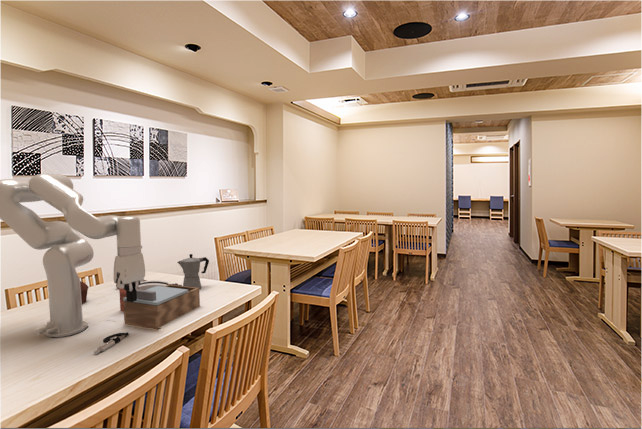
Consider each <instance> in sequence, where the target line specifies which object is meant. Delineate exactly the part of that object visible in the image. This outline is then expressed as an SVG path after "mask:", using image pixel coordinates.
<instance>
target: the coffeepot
mask: <svg viewBox="0 0 642 429" xmlns="http://www.w3.org/2000/svg"><path fill="white" fill-rule="evenodd" d="M202 262H204V267H203V270H202V271H201V274H206V272H207V269H208V266H209V264H210V259H208V258H207V257H206V256H204V257H193V254H192V253H190V254H189V257H187V258H183V259H182V260H179V261H177V264H178V265H179V266H180V268H181V269H182V272H183V274H184V277H183V283H182V286H187V287H196V288H199V291H200V290H201V289H202V283H201V278H200V275H199V272H200V270H201V269H200V267H201V263H202Z"/></svg>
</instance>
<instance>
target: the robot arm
mask: <svg viewBox="0 0 642 429" xmlns="http://www.w3.org/2000/svg"><path fill="white" fill-rule="evenodd" d="M41 201H44V202H45V203H46V204H48V205H50V206H51V207H53V208H55V209H56V210H57V211H58V212H59V211H60V212H61V213H62V214H63V217H64V219H65V221H66V222H65V221H61V220H53V221H46V220H44V219H42V218H41V216H39V215H38V214H37V213H36V212H35V211H34V210H32V209H31V208H29V207H27V206H25V205H23V204H22V203H34V202H35V203H36V202H41ZM83 202H84V196H83V195H82V194H81V193H79V192H78V191H76V190H74V183H73V181H72V179H70V178H69V177H68V176H66V175H64V174H59V173H39V174H36V175H33V176H32V177H31V178H20V179H19V178H6V179H5V178H4V179H0V220H1V221H3V222H4V223H5V224H6V225H7V226H8V227H9V228H10V229H12V231H13V232H14V233H15V234H17V235H18V236H19V237H20V238H21V239H22V241H24V242H25V243H26V244H27V245H28V246H29V247H30V248H32V249H34V250H40V251H42V250H46V251H45V253H44V254H43V256H42V265H43V268H44V271H45V275H46V280H47V291H48V304H49V305H48V306H49V321H48V322H47V323H46V325H45V326H43V327H39V328H37V329H35V334H36V335H37V336H40V335H42V334H45V336H46V337H49V338H63V337H64V338H65V337H70V336H72V335H73V336H74V335H76V334H78V333H81V332H83V331H85V330H87V328H88V327H89V324H88V322H87V321H86V320H85V321H84V320H83V318H84V317H83V306H82V305H83V304H82V300H81V285H80V281H81V279H80V276H79V274H78V272H77V270H76V268H78V267H81V266H82V267H83V266H85V265H86V264H87V265H88V264H89V263H90V262H91V261H92V260H93V258H94V252H95V251H94V249H93V247H92V244H90V243H89V242H88V240H86V239H85V238H84V237H86V238H89V239H91V240H101V239H105V238H109V237H113V236H116V248H117V249H116V251H117V252H116V253H117V254H116V256H115V257H114V262H113V263H114V264H113V283H114V284H115V285H116V284H117V287H116V288H117V289H119V288H120V289H122V288H123V289H124V290H125V291H126V300H127V301H130V302H134V301H136V300H137V291H136V290H137V289H138V285H139V284H140V283H141V282H143V281H144V280H145V277H146V268H145V267H146V266H145V260H144V255H143V254H144V253H143V252H142V249H143V246H142V242H141V240H142V239H141V238H142V237H141V220H140V218H139V217H138V216H135V215H125V216H124V215H123V216H122V215H121V216H120V215H115V214H114V215H113V214H109V215H102V216H94V215H93V214H91V213H89V212H88V211H87V210H85V209H84V208H83V207H82V206H83ZM83 236H84V237H83Z"/></svg>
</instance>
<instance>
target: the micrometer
mask: <svg viewBox="0 0 642 429" xmlns="http://www.w3.org/2000/svg"><path fill="white" fill-rule="evenodd" d="M129 334H130V333H129V332H127V331H126V332H118V333H114V334H111V335H108V336H107V337H105V338H103V339H102V343H104V344H102V345H100V346H98V347H97V348H96V350H94V351H93V355H95V356H96V355H99V354H100V353H104V352H105V351H107V350H108V349H110V348H112V347H114V346H115V345H116V344H118V343H120V342H121V340H122V339H124V338H125V337H127V336H129Z"/></svg>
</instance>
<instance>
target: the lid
mask: <svg viewBox="0 0 642 429" xmlns="http://www.w3.org/2000/svg"><path fill="white" fill-rule="evenodd" d="M136 291H137V300H136V301H134V302H136V303H143V304H150V305H159V304H162V303H164V302H166V301H169V300H171V299H173V298H175V297H178V296H180V295H182V294H185V293H187V292H188V289H179V288H171V287H162V286H155V287H152V288H150V289H147V290H138V289H137V290H136ZM123 301H127V300H126V297H125V298H123ZM129 302H130V301H129Z"/></svg>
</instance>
